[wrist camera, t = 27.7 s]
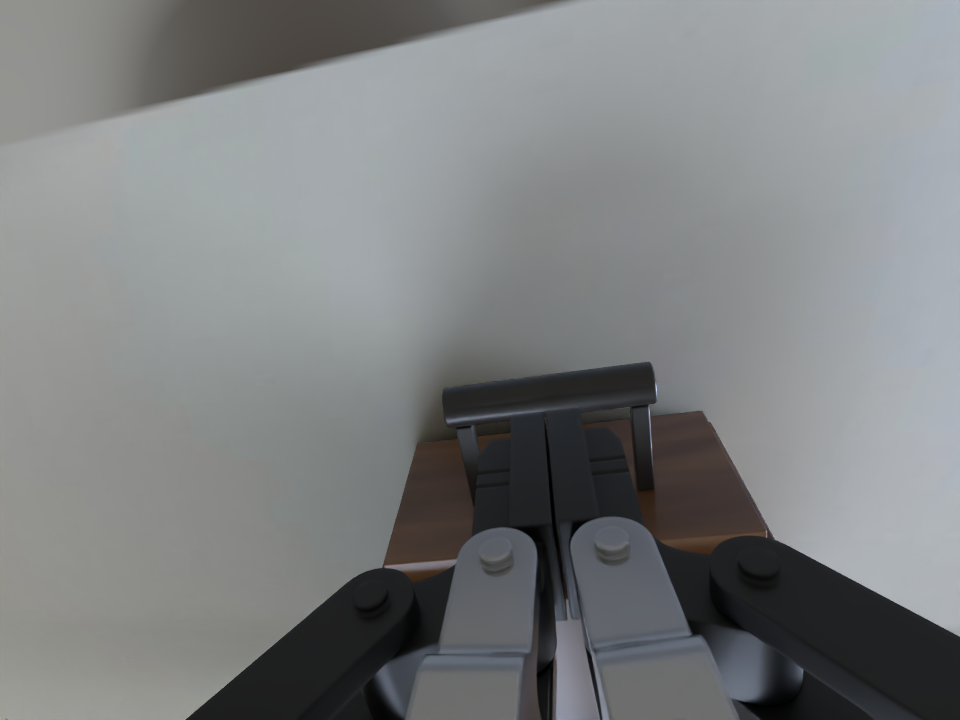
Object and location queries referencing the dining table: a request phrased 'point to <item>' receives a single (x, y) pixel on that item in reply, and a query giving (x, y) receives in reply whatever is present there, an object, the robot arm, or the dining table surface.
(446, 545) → the drawer
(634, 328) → the dining table surface
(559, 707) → the cabinet
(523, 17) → the dining table surface
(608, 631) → the robot arm
